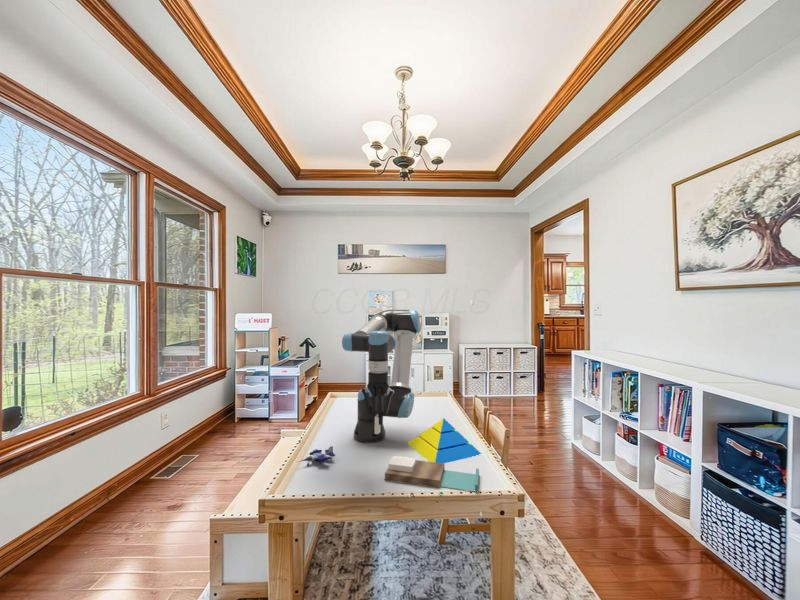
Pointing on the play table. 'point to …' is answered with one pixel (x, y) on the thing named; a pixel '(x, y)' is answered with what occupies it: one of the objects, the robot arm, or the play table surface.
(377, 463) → the play table surface
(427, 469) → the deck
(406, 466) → the tile
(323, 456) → the toy airplane
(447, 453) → the pyramid toy
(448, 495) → the play table surface
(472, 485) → the mat
